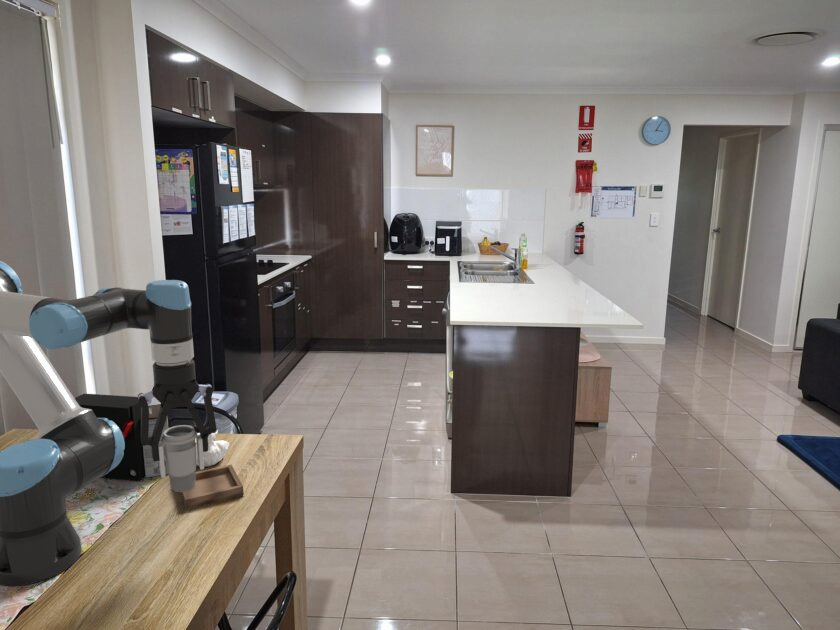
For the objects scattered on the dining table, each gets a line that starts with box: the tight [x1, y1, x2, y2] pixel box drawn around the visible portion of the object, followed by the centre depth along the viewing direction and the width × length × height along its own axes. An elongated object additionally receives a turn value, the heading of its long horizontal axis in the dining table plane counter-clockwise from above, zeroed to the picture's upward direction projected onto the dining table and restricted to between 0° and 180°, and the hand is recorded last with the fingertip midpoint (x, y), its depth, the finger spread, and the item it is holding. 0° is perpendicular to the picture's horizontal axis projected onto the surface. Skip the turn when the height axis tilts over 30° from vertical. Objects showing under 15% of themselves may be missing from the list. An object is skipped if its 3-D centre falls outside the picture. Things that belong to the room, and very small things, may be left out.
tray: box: [180, 464, 245, 510], centre depth 145 cm, size 13×13×2 cm
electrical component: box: [74, 393, 146, 482], centre depth 152 cm, size 18×10×20 cm, turn 81°
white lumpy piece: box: [196, 429, 230, 468], centre depth 158 cm, size 12×8×11 cm
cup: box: [161, 424, 198, 493], centre depth 120 cm, size 7×7×12 cm
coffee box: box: [140, 404, 169, 478], centre depth 155 cm, size 9×6×16 cm
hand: (182, 470), depth 120 cm, fingers closed on cup, 7 cm apart
